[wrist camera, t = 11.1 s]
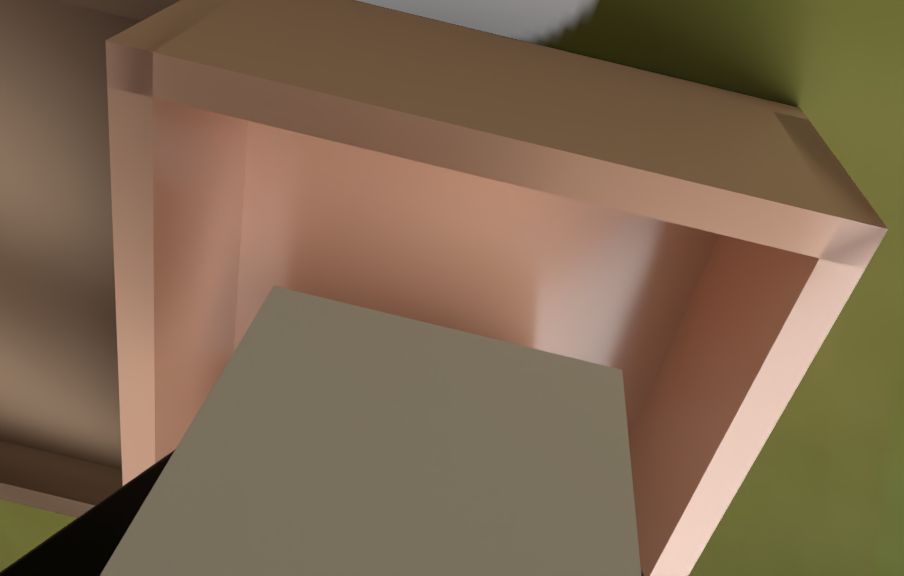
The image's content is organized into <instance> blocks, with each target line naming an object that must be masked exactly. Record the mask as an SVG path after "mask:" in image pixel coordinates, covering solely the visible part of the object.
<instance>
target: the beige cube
mask: <svg viewBox="0 0 904 576" xmlns="http://www.w3.org/2000/svg"><path fill="white" fill-rule="evenodd" d="M100 576H641V566H640V556H639V545H638V534H637V523H636V513H635V502H634V491H633V480H632V470H631V459H630V448H629V437H628V427H627V416H626V405H625V394H624V384H623V373H622V370H621V369H617V368H613V367H608V366H604V365H600V364H596V363H592V362H588V361H584V360H579V359H575V358H571V357H567V356H563V355H559V354H555V353H550V352H546V351H542V350H538V349H534V348H530V347H525V346H521V345H517V344H513V343H509V342H505V341H501V340H496V339H492V338H488V337H484V336H480V335H476V334H472V333H467V332H463V331H459V330H455V329H451V328H447V327H442V326H438V325H434V324H430V323H426V322H422V321H418V320H413V319H409V318H405V317H401V316H397V315H393V314H389V313H384V312H380V311H376V310H372V309H368V308H364V307H359V306H355V305H351V304H347V303H343V302H339V301H335V300H330V299H326V298H322V297H318V296H314V295H310V294H305V293H301V292H297V291H293V290H289V289H285V288H281V287H276V286H273V288H272V289H271V291H270V293H269V294H268V296H267V298H266V299H265V301H264V303H263V304H262V306H261V308H260V309H259V311H258V313H257V314H256V316H255V318H254V319H253V321H252V323H251V324H250V326H249V328H248V329H247V331H246V333H245V334H244V336H243V338H242V339H241V341H240V343H239V344H238V346H237V348H236V349H235V351H234V353H233V354H232V356H231V358H230V359H229V361H228V363H227V364H226V366H225V368H224V369H223V371H222V373H221V374H220V376H219V378H218V379H217V381H216V383H215V384H214V386H213V388H212V389H211V391H210V393H209V394H208V396H207V398H206V399H205V401H204V403H203V404H202V406H201V408H200V409H199V411H198V413H197V414H196V416H195V418H194V419H193V421H192V423H191V424H190V426H189V428H188V429H187V431H186V433H185V434H184V436H183V438H182V439H181V441H180V443H179V444H178V446H177V448H176V449H175V451H174V453H173V454H172V456H171V458H170V459H169V461H168V463H167V464H166V466H165V468H164V469H163V471H162V473H161V474H160V476H159V478H158V479H157V481H156V483H155V484H154V486H153V488H152V489H151V491H150V493H149V494H148V496H147V498H146V499H145V501H144V503H143V504H142V506H141V508H140V509H139V511H138V513H137V515H136V516H135V518H134V520H133V521H132V523H131V525H130V526H129V528H128V530H127V531H126V533H125V535H124V536H123V538H122V540H121V541H120V543H119V545H118V546H117V548H116V550H115V551H114V553H113V555H112V556H111V558H110V560H109V561H108V563H107V565H106V566H105V568H104V570H103V571H102V573H101V575H100Z"/></svg>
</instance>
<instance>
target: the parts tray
mask: <svg viewBox="0 0 904 576" xmlns="http://www.w3.org/2000/svg"><path fill="white" fill-rule="evenodd" d="M178 1H180V0H0V499H2V500H6V501H10V502H14V503H19V504H23V505H27V506H31V507H35V508H39V509H44V510H48V511H52V512H56V513H60V514H64V515H69V516H73V517H77V518H78V517H80V516H81V515H82V514H84V513H85V512H87V511H88V510H90V509H91V508H92V507H94V506H95V505H97V504H98V503H99V502H101V501H102V500H104V499H105V498H107V497H108V496H109V495H111V494H112V493H114V492H115V491H117V490H118V489H119V488H121V487H122V486H123V481H122V455H121V429H120V403H119V377H118V351H117V326H116V300H115V274H114V248H113V222H112V196H111V171H110V145H109V119H108V93H107V67H106V40H107V39H109V38H111V37H113V36H115V35H117V34H119V33H121V32H122V31H124V30H126V29H128V28H130V27H132V26H134V25H135V24H137V23H139V22H141V21H143V20H145V19H147V18H148V17H150V16H152V15H154V14H156V13H158V12H160V11H162V10H163V9H165V8H167V7H169V6H171V5H173V4H175V3H176V2H178Z"/></svg>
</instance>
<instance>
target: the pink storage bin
mask: <svg viewBox="0 0 904 576" xmlns="http://www.w3.org/2000/svg"><path fill="white" fill-rule="evenodd" d="M106 67H107V93H108V119H109V145H110V171H111V196H112V222H113V248H114V274H115V300H116V326H117V351H118V377H119V403H120V429H121V455H122V481H123V486H124V485H125V484H127V483H128V482H129V481H131V480H132V479H134V478H135V477H136V476H138V475H139V474H141V473H142V472H144V471H145V470H146V469H148V468H149V467H151V466H152V465H154V464H155V463H156V462H158V461H159V460H161V459H162V458H163V457H165V456H166V455H168V454H169V453H171V452H172V451H173V450H175V449H176V448H177V446H178V444H179V443H180V441H181V439H182V438H183V436H184V434H185V433H186V431H187V429H188V428H189V426H190V424H191V423H192V421H193V419H194V418H195V416H196V414H197V413H198V411H199V409H200V408H201V406H202V404H203V403H204V401H205V399H206V398H207V396H208V394H209V393H210V391H211V389H212V388H213V386H214V384H215V383H216V381H217V379H218V378H219V376H220V374H221V373H222V371H223V369H224V368H225V366H226V364H227V363H228V361H229V359H230V358H231V356H232V354H233V353H234V351H235V349H236V348H237V346H238V344H239V343H240V341H241V339H242V338H243V336H244V334H245V333H246V331H247V329H248V328H249V326H250V324H251V323H252V321H253V319H254V318H255V316H256V314H257V313H258V311H259V309H260V308H261V306H262V304H263V303H264V301H265V299H266V298H267V296H268V294H269V293H270V291H271V289H272V288H273V286H276V287H281V288H285V289H289V290H293V291H297V292H301V293H305V294H310V295H314V296H318V297H322V298H326V299H330V300H335V301H339V302H343V303H347V304H351V305H355V306H359V307H364V308H368V309H372V310H376V311H380V312H384V313H389V314H393V315H397V316H401V317H405V318H409V319H413V320H418V321H422V322H426V323H430V324H434V325H438V326H442V327H447V328H451V329H455V330H459V331H463V332H467V333H472V334H476V335H480V336H484V337H488V338H492V339H496V340H501V341H505V342H509V343H513V344H517V345H521V346H525V347H530V348H534V349H538V350H542V351H546V352H550V353H555V354H559V355H563V356H567V357H571V358H575V359H579V360H584V361H588V362H592V363H596V364H600V365H604V366H608V367H613V368H617V369H621V370H622V373H623V384H624V394H625V405H626V416H627V427H628V437H629V448H630V459H631V470H632V480H633V491H634V502H635V513H636V523H637V534H638V545H639V556H640V566H641V570H642V572H643V574H644V576H688V575H689V574H690V572H691V570H692V568H693V567H694V565H695V563H696V561H697V560H698V558H699V556H700V554H701V553H702V551H703V549H704V548H705V546H706V544H707V542H708V541H709V539H710V537H711V535H712V534H713V532H714V530H715V528H716V527H717V525H718V523H719V522H720V520H721V518H722V516H723V515H724V513H725V511H726V509H727V508H728V506H729V504H730V502H731V501H732V499H733V497H734V496H735V494H736V492H737V490H738V489H739V487H740V485H741V483H742V482H743V480H744V478H745V476H746V475H747V473H748V471H749V469H750V468H751V466H752V464H753V463H754V461H755V459H756V457H757V456H758V454H759V452H760V450H761V449H762V447H763V445H764V443H765V442H766V440H767V438H768V437H769V435H770V433H771V431H772V430H773V428H774V426H775V424H776V423H777V421H778V419H779V417H780V416H781V414H782V412H783V411H784V409H785V407H786V405H787V404H788V402H789V400H790V398H791V397H792V395H793V393H794V391H795V390H796V388H797V386H798V385H799V383H800V381H801V379H802V378H803V376H804V374H805V372H806V371H807V369H808V367H809V365H810V364H811V362H812V360H813V359H814V357H815V355H816V353H817V352H818V350H819V348H820V346H821V345H822V343H823V341H824V339H825V338H826V336H827V334H828V332H829V331H830V329H831V327H832V326H833V324H834V322H835V320H836V319H837V317H838V315H839V313H840V312H841V310H842V308H843V306H844V305H845V303H846V301H847V300H848V298H849V296H850V294H851V293H852V291H853V289H854V287H855V286H856V284H857V282H858V280H859V279H860V277H861V275H862V274H863V272H864V270H865V268H866V267H867V265H868V263H869V261H870V260H871V258H872V256H873V254H874V253H875V251H876V249H877V248H878V246H879V244H880V242H881V241H882V239H883V237H884V235H885V234H886V232H887V230H888V228H887V227H886V226H885V224H884V223H883V221H882V220H881V219H880V217H879V216H878V215H877V213H876V212H875V210H874V209H873V208H872V206H871V205H870V204H869V202H868V201H867V199H866V198H865V197H864V195H863V194H862V193H861V191H860V190H859V188H858V187H857V186H856V184H855V183H854V182H853V180H852V179H851V177H850V176H849V175H848V173H847V172H846V171H845V169H844V168H843V166H842V165H841V164H840V162H839V161H838V160H837V158H836V157H835V155H834V154H833V153H832V151H831V150H830V149H829V147H828V146H827V144H826V143H825V142H824V140H823V139H822V137H821V136H820V135H819V133H818V132H817V131H816V129H815V128H814V126H813V125H812V124H811V122H810V121H809V120H808V118H807V117H806V115H805V114H804V113H803V111H802V110H801V109H800V108H799V107H794V106H790V105H786V104H782V103H778V102H774V101H770V100H765V99H761V98H757V97H753V96H749V95H745V94H741V93H736V92H732V91H728V90H724V89H720V88H716V87H712V86H707V85H703V84H699V83H695V82H691V81H687V80H683V79H678V78H674V77H670V76H666V75H662V74H658V73H654V72H649V71H645V70H641V69H637V68H633V67H629V66H625V65H620V64H616V63H612V62H608V61H604V60H600V59H595V58H591V57H587V56H583V55H579V54H575V53H571V52H566V51H562V50H558V49H554V48H550V47H546V46H542V45H537V44H533V43H529V42H525V41H521V40H517V39H513V38H508V37H504V36H500V35H496V34H492V33H487V32H484V31H479V30H475V29H471V28H467V27H463V26H459V25H455V24H450V23H446V22H442V21H438V20H434V19H429V18H425V17H421V16H417V15H413V14H409V13H404V12H401V11H396V10H392V9H388V8H384V7H379V6H376V5H371V4H367V3H363V2H359V1H355V0H180V1H178V2H176V3H175V4H173V5H171V6H169V7H167V8H165V9H163V10H162V11H160V12H158V13H156V14H154V15H152V16H150V17H148V18H147V19H145V20H143V21H141V22H139V23H137V24H135V25H134V26H132V27H130V28H128V29H126V30H124V31H122V32H121V33H119V34H117V35H115V36H113V37H111V38H109V39H107V40H106Z"/></svg>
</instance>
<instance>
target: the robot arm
mask: <svg viewBox="0 0 904 576" xmlns="http://www.w3.org/2000/svg"><path fill="white" fill-rule="evenodd" d="M174 451H175V450H173V451H172V452H171V453H169V454H168V455H166V456H165V457H163V458H162V459H161V460H159V461H158V462H156V463H155V464H154V465H152V466H151V467H149V468H148V469H146V470H145V471H144V472H142V473H141V474H139V475H138V476H136V477H135V478H134V479H132V480H131V481H129V482H128V483H127V484H125V485H124V486H122V487H121V488H119V489H118V490H117V491H115V492H114V493H112V494H111V495H109V496H108V497H107V498H105V499H104V500H102V501H101V502H99V503H98V504H97V505H95V506H94V507H92V508H91V509H90V510H88V511H87V512H85V513H84V514H82V515H81V516H80V517H78V518H77V519H75V520H74V521H72V522H71V523H70V524H68V525H67V526H65V527H64V528H63V529H61V530H60V531H58V532H57V533H55V534H54V535H53V536H51V537H50V538H48V539H47V540H45V541H44V542H43V543H41V544H40V545H38V546H37V547H36V548H34V549H33V550H31V551H30V552H28V553H27V554H26V555H24V556H23V557H21V558H20V559H18V560H17V561H16V562H14V563H13V564H11V565H10V566H8V567H7V568H6V569H4V570H3V571H1V572H0V576H100V575H101V573H102V571H103V570H104V568H105V566H106V565H107V563H108V561H109V560H110V558H111V556H112V555H113V553H114V551H115V550H116V548H117V546H118V545H119V543H120V541H121V540H122V538H123V536H124V535H125V533H126V531H127V530H128V528H129V526H130V525H131V523H132V521H133V520H134V518H135V516H136V515H137V513H138V511H139V509H140V508H141V506H142V504H143V503H144V501H145V499H146V498H147V496H148V494H149V493H150V491H151V489H152V488H153V486H154V484H155V483H156V481H157V479H158V478H159V476H160V474H161V473H162V471H163V469H164V468H165V466H166V464H167V463H168V461H169V459H170V458H171V456H172V454H173V453H174ZM641 576H644V574H643V572H642V570H641Z"/></svg>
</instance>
